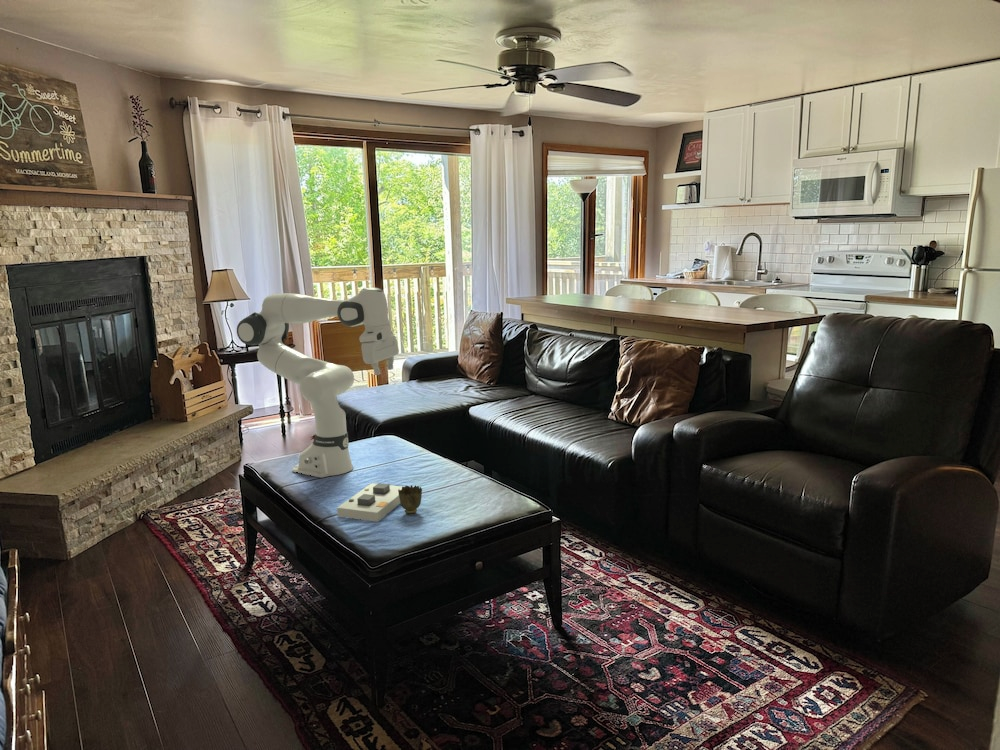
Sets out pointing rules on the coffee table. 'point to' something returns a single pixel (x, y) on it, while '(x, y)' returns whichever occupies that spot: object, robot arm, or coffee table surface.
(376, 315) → the robot arm
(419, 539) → the coffee table surface
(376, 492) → the block
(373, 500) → the block
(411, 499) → the brown textured goblet
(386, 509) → the panel
